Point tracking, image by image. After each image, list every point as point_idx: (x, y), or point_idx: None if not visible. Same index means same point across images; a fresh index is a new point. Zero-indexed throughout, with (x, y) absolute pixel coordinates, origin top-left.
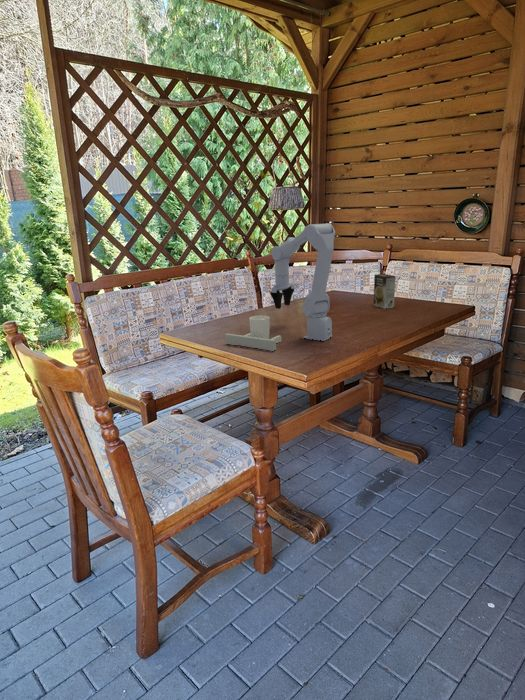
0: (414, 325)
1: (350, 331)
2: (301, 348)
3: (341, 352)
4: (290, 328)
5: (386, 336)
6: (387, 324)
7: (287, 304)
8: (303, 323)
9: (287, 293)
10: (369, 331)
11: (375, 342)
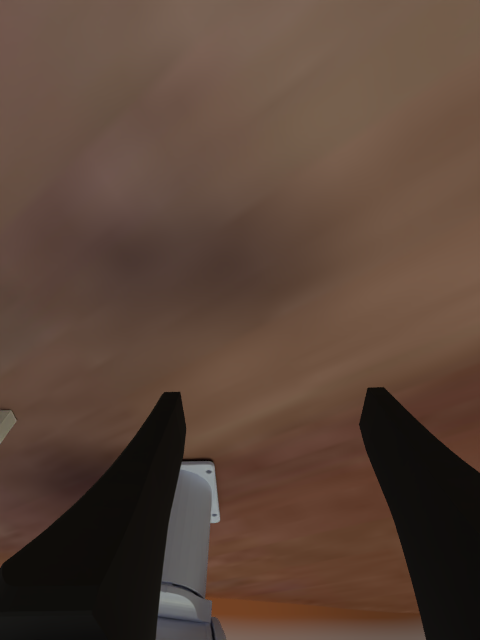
0: None
1: (323, 529)
2: (16, 500)
3: None
4: (270, 337)
5: (301, 591)
6: None
7: (364, 419)
8: (422, 343)
9: (431, 561)
10: (345, 559)
11: (224, 590)
